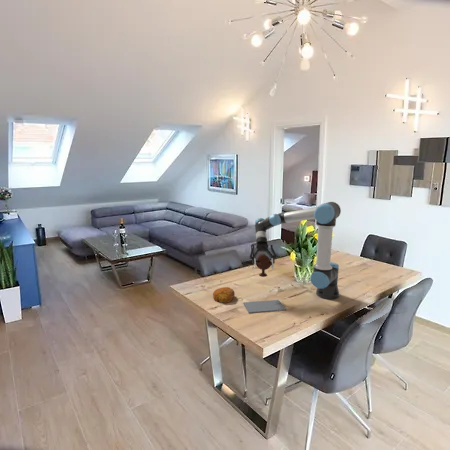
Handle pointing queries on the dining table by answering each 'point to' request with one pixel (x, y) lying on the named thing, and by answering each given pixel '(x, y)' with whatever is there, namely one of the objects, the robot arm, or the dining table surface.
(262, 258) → the ice cream bowl
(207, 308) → the dining table surface
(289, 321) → the dining table surface
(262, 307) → the placemat
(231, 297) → the orange-brown rounded lump
